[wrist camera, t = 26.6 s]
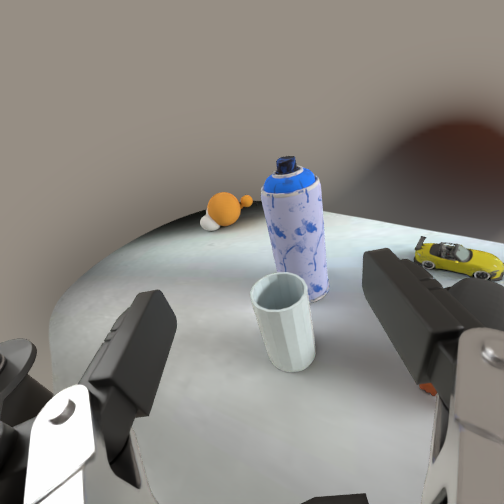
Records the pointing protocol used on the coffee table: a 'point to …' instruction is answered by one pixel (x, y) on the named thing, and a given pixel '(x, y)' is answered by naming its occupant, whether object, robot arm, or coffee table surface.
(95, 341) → the coffee table surface
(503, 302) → the figurine
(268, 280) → the plastic cup
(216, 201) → the toy
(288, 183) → the aerosol can
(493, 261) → the toy car
